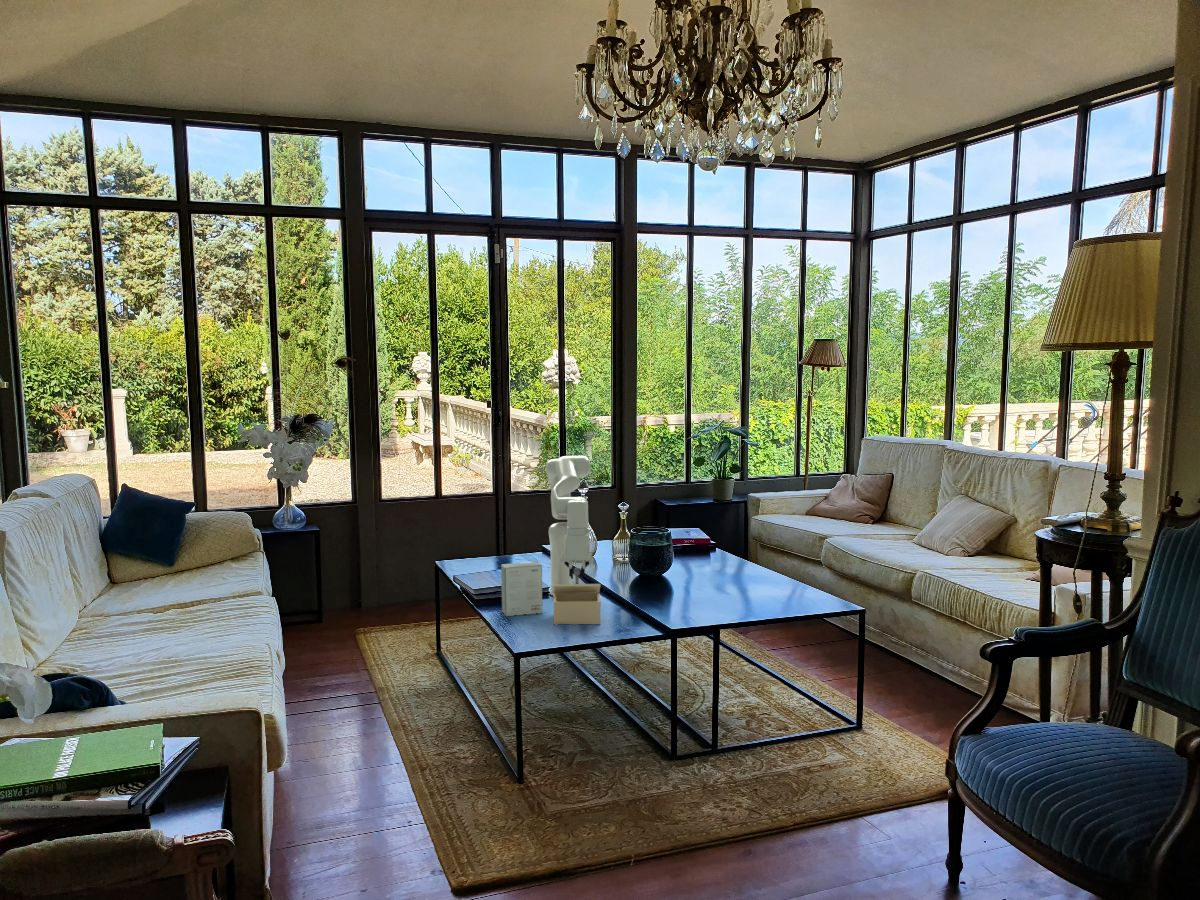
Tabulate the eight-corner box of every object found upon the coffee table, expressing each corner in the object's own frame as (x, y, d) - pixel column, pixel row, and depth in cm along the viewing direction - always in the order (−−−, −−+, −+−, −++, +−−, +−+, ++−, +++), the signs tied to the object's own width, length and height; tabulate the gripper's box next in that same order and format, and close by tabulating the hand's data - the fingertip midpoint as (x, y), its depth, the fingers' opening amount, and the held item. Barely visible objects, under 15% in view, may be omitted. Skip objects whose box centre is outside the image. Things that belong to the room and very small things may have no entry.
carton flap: (554, 592, 339) (554, 574, 341) (599, 592, 340) (598, 573, 342) (553, 586, 326) (553, 566, 328) (600, 585, 326) (600, 566, 329)
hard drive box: (538, 608, 349) (538, 561, 347) (543, 613, 342) (542, 565, 340) (501, 611, 344) (500, 563, 342) (505, 616, 337) (504, 567, 335)
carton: (554, 615, 339) (554, 593, 339) (598, 614, 340) (599, 592, 340) (553, 625, 326) (553, 602, 325) (600, 624, 326) (600, 601, 326)
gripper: (597, 529, 333) (597, 576, 334) (555, 530, 332) (555, 576, 333) (598, 533, 325) (598, 580, 327) (555, 533, 325) (555, 580, 326)
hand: (576, 577), depth 330 cm, fingers closed on carton flap, 3 cm apart
